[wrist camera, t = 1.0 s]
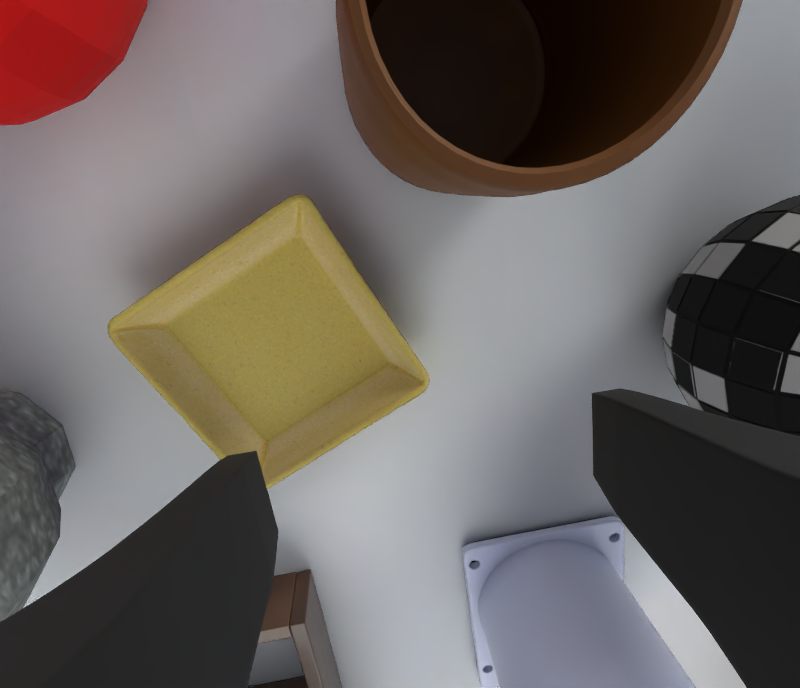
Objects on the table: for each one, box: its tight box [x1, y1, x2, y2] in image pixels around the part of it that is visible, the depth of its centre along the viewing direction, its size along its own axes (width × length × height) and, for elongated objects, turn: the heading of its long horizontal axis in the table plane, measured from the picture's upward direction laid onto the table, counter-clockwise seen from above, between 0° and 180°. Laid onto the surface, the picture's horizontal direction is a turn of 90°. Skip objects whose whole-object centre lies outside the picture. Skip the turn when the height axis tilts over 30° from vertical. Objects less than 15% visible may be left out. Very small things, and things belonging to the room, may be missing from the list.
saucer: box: [108, 194, 429, 489], centre depth 18 cm, size 9×9×2 cm
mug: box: [336, 0, 743, 197], centre depth 13 cm, size 12×8×9 cm, turn 115°
